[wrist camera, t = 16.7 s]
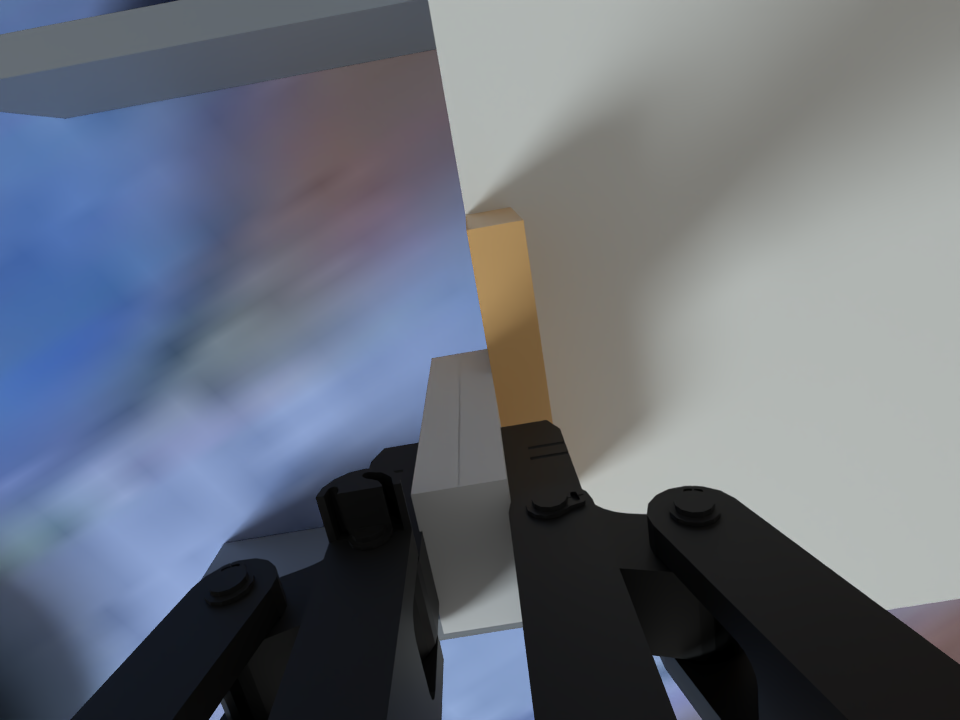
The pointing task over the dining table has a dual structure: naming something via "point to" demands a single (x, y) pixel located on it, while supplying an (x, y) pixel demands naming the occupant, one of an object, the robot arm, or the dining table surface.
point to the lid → (728, 256)
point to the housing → (198, 69)
